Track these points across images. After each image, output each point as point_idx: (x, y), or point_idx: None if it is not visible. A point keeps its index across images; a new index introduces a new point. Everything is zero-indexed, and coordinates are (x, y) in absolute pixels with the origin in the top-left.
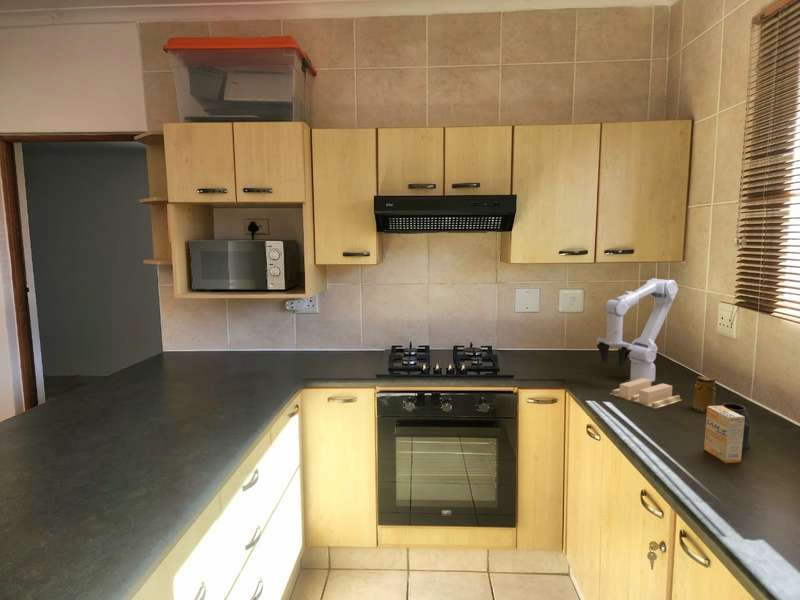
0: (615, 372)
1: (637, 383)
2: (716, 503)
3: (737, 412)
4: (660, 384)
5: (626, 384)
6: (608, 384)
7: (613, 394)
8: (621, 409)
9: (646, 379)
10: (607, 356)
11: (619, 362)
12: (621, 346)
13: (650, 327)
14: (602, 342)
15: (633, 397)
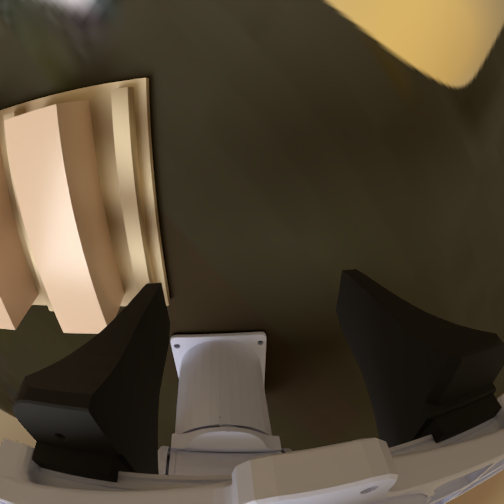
0: (363, 378)
1: (32, 225)
2: None
3: None
4: (2, 307)
5: (36, 143)
6: (290, 238)
7: (121, 85)
8: (4, 4)
9: (80, 327)
10: (352, 345)
11: (150, 298)
12: (133, 488)
13: None
14: (468, 433)
15: (6, 115)
